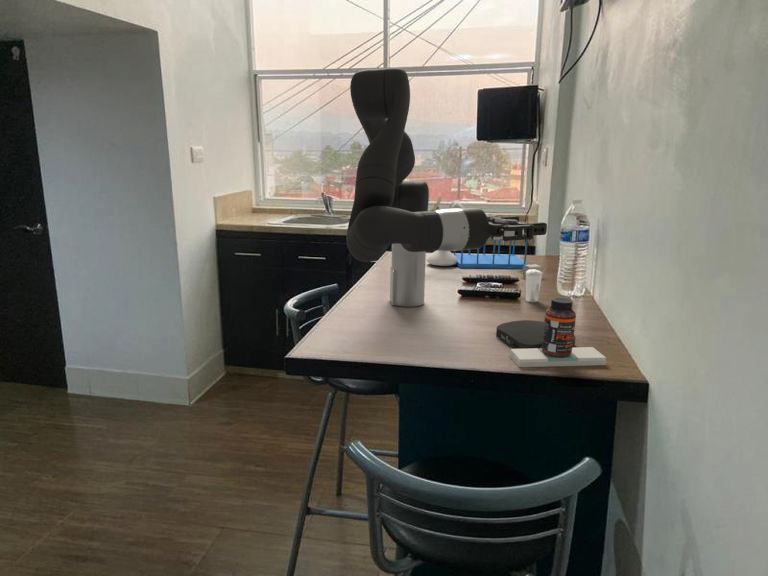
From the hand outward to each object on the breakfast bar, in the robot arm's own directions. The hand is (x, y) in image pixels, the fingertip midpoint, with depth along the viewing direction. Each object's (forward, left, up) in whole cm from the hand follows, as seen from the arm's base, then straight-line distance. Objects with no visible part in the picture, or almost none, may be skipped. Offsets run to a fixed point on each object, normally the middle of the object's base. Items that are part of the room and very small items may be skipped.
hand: (531, 225), depth 104 cm
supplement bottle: (+8, 0, -27) cm, 28 cm away
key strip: (+8, 0, -28) cm, 29 cm away
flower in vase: (+2, +92, -28) cm, 96 cm away
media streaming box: (+8, +12, -29) cm, 32 cm away
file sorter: (+20, +95, -28) cm, 101 cm away
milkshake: (+19, +44, -28) cm, 55 cm away
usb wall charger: (+28, +73, -28) cm, 83 cm away
